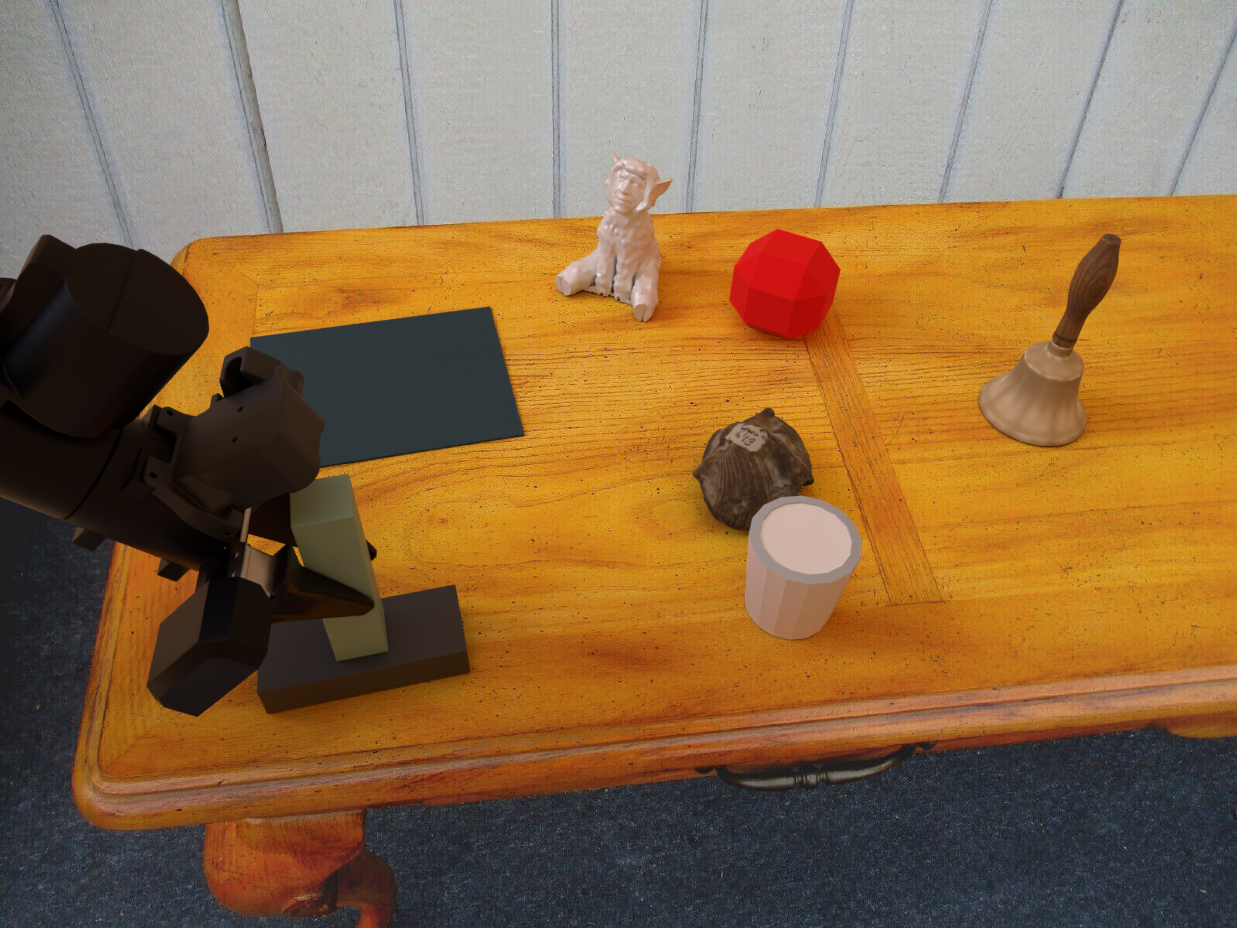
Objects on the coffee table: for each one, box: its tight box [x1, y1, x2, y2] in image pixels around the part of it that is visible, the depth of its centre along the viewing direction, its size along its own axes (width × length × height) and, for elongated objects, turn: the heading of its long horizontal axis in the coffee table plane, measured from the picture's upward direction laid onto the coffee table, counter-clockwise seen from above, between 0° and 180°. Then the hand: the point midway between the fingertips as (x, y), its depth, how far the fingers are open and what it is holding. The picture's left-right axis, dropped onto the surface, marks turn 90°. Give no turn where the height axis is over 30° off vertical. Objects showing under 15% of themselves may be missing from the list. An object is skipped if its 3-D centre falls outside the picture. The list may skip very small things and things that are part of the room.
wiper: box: [256, 473, 471, 715], centre depth 53 cm, size 12×5×15 cm, turn 105°
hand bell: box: [978, 233, 1122, 447], centre depth 70 cm, size 8×8×16 cm
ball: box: [728, 228, 842, 341], centre depth 80 cm, size 8×8×8 cm
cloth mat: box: [249, 305, 525, 468], centre depth 76 cm, size 20×16×1 cm
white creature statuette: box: [554, 153, 674, 323], centre depth 81 cm, size 10×9×12 cm
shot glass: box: [744, 495, 863, 641], centre depth 60 cm, size 7×7×7 cm
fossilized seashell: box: [692, 407, 815, 531], centre depth 68 cm, size 8×7×10 cm
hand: (371, 582), depth 54 cm, fingers closed on wiper, 3 cm apart
